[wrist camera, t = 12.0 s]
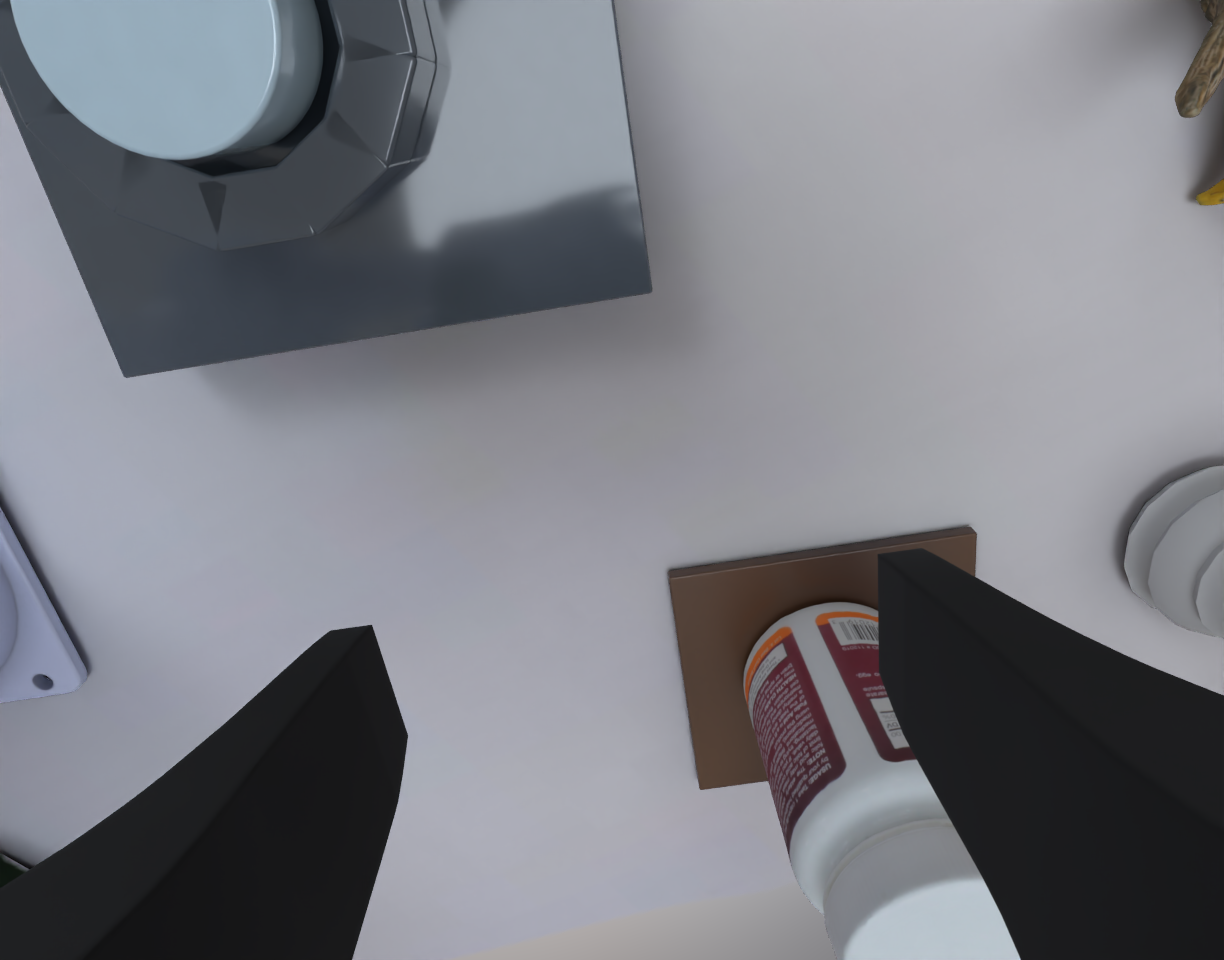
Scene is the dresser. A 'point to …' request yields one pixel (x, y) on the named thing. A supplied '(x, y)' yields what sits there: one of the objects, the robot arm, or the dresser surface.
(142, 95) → the light blue short cylinder
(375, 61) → the grey base plate
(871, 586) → the coaster
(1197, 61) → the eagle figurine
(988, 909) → the pill bottle
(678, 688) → the dresser surface
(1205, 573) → the rook chess piece
